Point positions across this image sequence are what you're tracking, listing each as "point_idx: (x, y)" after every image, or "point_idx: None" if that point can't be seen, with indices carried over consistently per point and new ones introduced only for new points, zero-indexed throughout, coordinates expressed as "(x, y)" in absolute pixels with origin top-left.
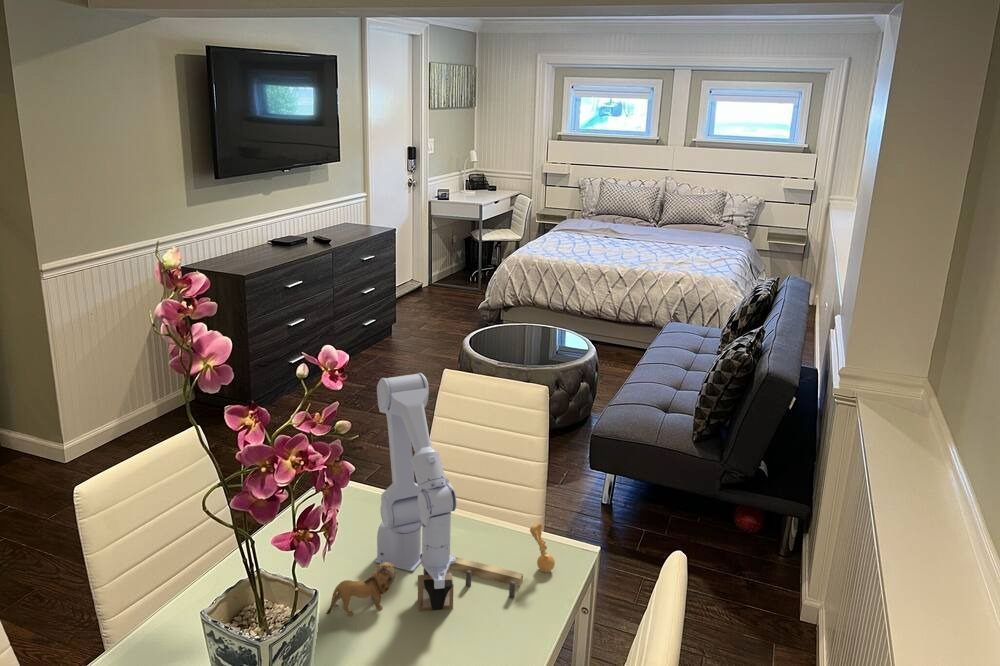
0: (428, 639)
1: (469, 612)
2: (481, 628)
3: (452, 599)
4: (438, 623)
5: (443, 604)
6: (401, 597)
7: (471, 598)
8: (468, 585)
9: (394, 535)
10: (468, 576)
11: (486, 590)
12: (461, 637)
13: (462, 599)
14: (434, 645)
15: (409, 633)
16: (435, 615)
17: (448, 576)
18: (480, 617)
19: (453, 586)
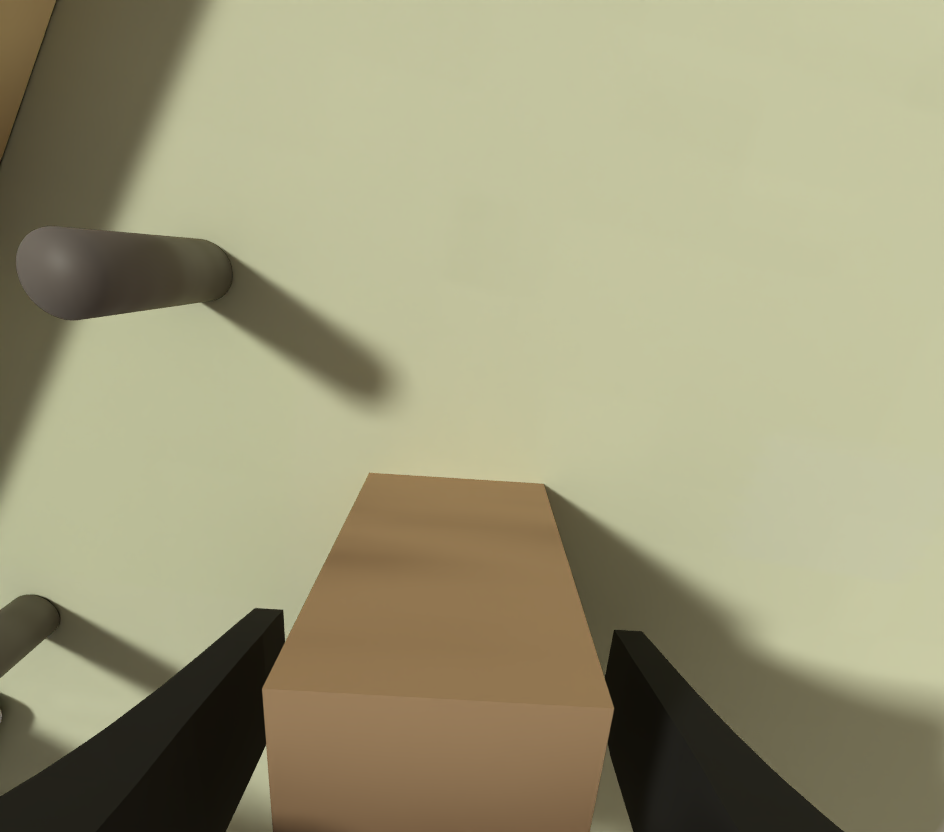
0: (840, 703)
1: (635, 349)
2: (905, 284)
3: (560, 545)
4: (694, 619)
5: (678, 675)
6: None
7: (424, 282)
8: (221, 275)
9: None
10: (146, 283)
11: (304, 67)
12: (934, 485)
13: (425, 376)
14: (921, 678)
15: None
16: (591, 624)
17: (370, 744)
18: (744, 256)
19: (602, 672)
